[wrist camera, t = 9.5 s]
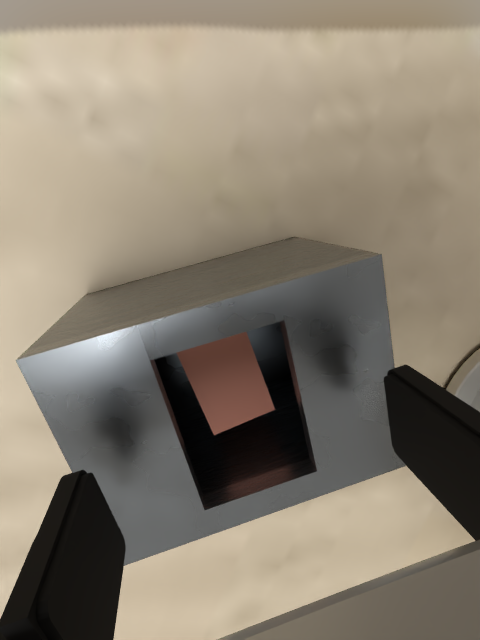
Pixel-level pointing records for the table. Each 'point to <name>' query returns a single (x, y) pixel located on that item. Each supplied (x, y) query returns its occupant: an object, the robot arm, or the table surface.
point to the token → (227, 381)
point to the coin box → (184, 408)
